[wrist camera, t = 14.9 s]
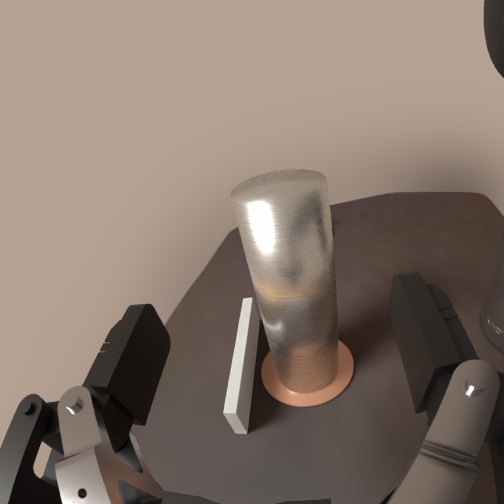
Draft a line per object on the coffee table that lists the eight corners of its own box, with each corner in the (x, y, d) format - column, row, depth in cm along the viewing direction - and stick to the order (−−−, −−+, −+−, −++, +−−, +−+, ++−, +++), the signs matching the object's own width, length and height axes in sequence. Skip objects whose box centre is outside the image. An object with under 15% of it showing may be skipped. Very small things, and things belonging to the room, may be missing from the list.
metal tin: (323, 336, 30) (302, 164, 21) (349, 377, 25) (344, 185, 16) (268, 357, 30) (223, 185, 21) (288, 402, 24) (242, 214, 16)
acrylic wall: (251, 324, 35) (243, 298, 33) (259, 323, 35) (252, 297, 33) (236, 433, 23) (223, 413, 21) (247, 434, 23) (235, 413, 21)
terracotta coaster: (329, 324, 32) (329, 322, 32) (370, 382, 24) (370, 381, 24) (251, 352, 31) (251, 350, 31) (277, 421, 23) (277, 419, 23)
